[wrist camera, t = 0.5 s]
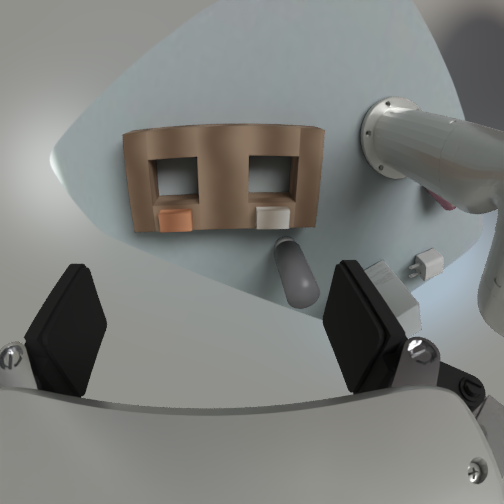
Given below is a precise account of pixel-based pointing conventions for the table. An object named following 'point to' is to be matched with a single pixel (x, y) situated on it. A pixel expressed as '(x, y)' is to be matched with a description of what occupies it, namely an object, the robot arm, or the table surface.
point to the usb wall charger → (428, 264)
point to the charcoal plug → (295, 274)
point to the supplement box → (396, 297)
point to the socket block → (223, 177)
